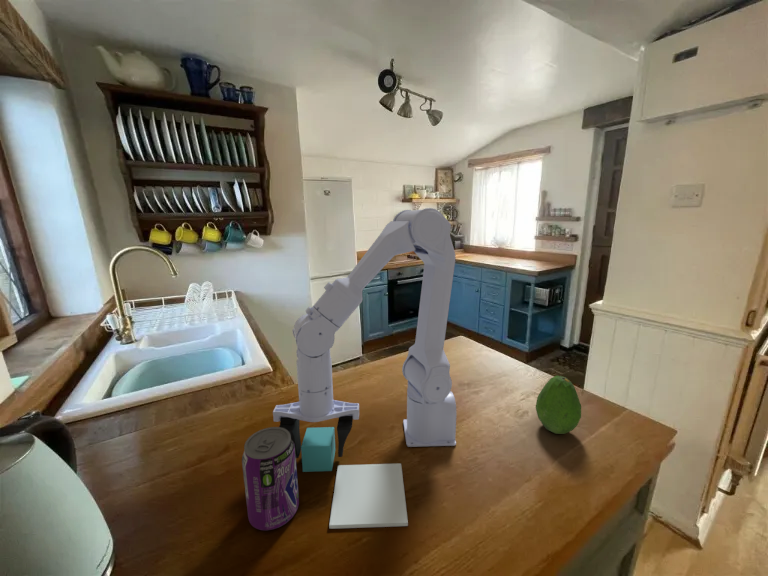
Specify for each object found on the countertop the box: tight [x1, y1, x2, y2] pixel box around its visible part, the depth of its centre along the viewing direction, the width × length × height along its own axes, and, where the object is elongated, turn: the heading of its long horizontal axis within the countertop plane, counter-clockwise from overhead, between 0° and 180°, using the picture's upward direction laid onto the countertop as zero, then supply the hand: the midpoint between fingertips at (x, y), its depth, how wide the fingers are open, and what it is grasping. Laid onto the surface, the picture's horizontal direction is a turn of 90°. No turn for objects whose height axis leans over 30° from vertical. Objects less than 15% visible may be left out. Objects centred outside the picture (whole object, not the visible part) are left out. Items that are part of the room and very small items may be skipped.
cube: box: [300, 426, 336, 473], centre depth 56 cm, size 5×5×5 cm
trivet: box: [328, 463, 409, 530], centre depth 49 cm, size 11×11×1 cm
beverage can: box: [241, 426, 300, 531], centre depth 45 cm, size 7×7×12 cm
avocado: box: [535, 375, 582, 435], centre depth 63 cm, size 8×8×12 cm
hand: (319, 453), depth 56 cm, fingers open, 7 cm apart
